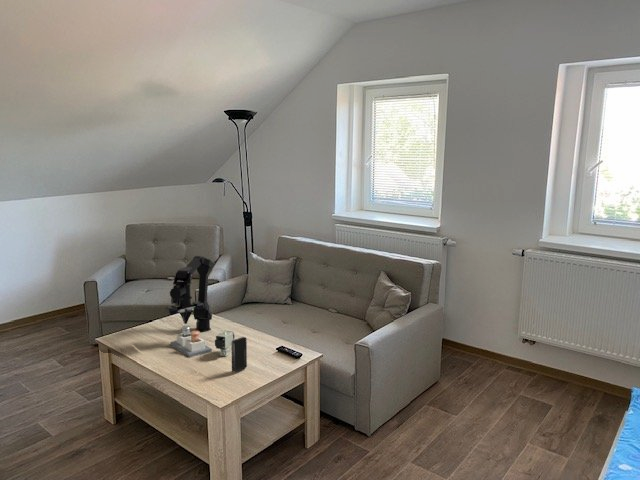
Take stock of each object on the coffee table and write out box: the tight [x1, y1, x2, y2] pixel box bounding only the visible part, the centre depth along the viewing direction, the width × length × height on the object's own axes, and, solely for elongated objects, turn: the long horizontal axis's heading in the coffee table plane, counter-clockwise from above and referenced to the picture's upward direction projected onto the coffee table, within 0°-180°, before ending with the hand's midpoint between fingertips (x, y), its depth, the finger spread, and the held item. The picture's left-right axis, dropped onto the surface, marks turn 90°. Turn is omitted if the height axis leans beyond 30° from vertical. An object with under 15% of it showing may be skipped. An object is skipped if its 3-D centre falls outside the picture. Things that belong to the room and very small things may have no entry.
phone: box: [230, 336, 248, 373], centre depth 225 cm, size 8×1×15 cm, turn 138°
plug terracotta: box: [190, 330, 201, 343], centre depth 247 cm, size 5×5×5 cm
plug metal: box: [180, 325, 191, 337], centre depth 255 cm, size 5×5×5 cm
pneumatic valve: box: [214, 330, 236, 358], centre depth 243 cm, size 6×12×12 cm, turn 161°
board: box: [169, 333, 213, 358], centre depth 252 cm, size 12×22×6 cm, turn 40°
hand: (185, 323), depth 254 cm, fingers closed
